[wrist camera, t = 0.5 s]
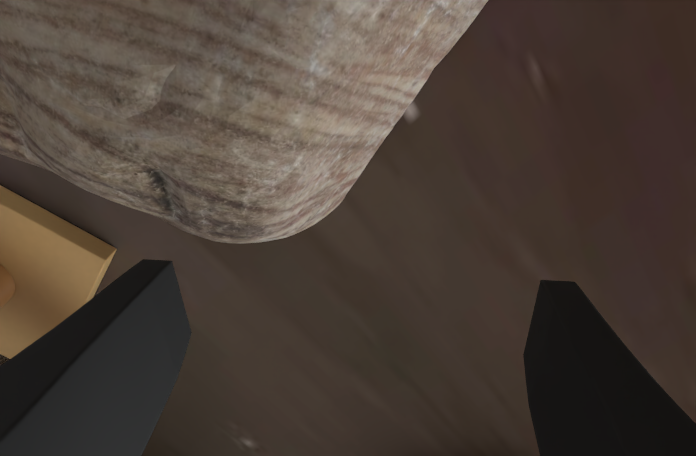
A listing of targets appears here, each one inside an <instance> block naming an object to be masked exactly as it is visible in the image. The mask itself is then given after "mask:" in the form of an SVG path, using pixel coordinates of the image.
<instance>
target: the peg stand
mask: <svg viewBox="0 0 696 456" xmlns="http://www.w3.org/2000/svg"><path fill="white" fill-rule="evenodd" d="M115 252H116V248H114V247H113V246H111V245H109V244H107V243H105V242H103V241H102V240H100V239H98V238H96V237H94V236H92V235H91V234H89V233H87V232H85V231H83V230H81V229H80V228H78V227H76V226H74V225H72V224H71V223H69V222H67V221H65V220H63V219H61V218H60V217H58V216H56V215H54V214H52V213H50V212H49V211H47V210H45V209H43V208H41V207H39V206H38V205H36V204H34V203H32V202H30V201H28V200H27V199H25V198H23V197H21V196H19V195H17V194H16V193H14V192H12V191H10V190H8V189H6V188H5V187H3V186H1V185H0V354H1V355H3V356H5V357H7V358H9V359H11V358H12V357H14V356H15V355H17V354H18V353H19V352H21V351H22V350H24V349H25V348H26V347H28V346H29V345H31V344H32V343H33V342H35V341H36V340H38V339H39V338H40V337H42V336H43V335H45V334H46V333H48V332H49V331H50V330H52V329H53V328H54V327H56V326H57V325H58V324H60V323H61V322H62V321H64V320H65V319H66V318H68V317H69V316H70V315H71V314H73V313H74V312H75V311H77V310H78V309H79V308H81V307H82V306H83V305H84V304H86V303H87V302H88V301H90V300H91V299H92V298H93V297H94V295H95V293H96V291H97V288H98V286H99V284H100V282H101V280H102V278H103V276H104V274H105V272H106V270H107V268H108V266H109V264H110V262H111V260H112V258H113V256H114V254H115Z"/></svg>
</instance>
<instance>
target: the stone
mask: <svg viewBox="0 0 696 456" xmlns="http://www.w3.org/2000/svg"><path fill="white" fill-rule="evenodd" d="M487 1H488V0H0V154H2V155H5V156H7V157H11V158H14V159H17V160H20V161H23V162H27V163H30V164H33V165H35V166H38V167H41V168H43V169H46V170H49V171H52V172H54V173H56V174H57V175H59V176H61V177H63V178H64V179H66V180H68V181H69V182H71V183H73V184H75V185H77V186H79V187H81V188H83V189H85V190H87V191H89V192H91V193H94V194H96V195H99V196H101V197H103V198H106V199H108V200H111V201H113V202H116V203H119V204H122V205H124V206H127V207H130V208H133V209H136V210H139V211H142V212H145V213H148V214H151V215H154V216H156V217H158V218H160V219H162V220H164V221H165V222H167V223H169V224H171V225H173V226H175V227H177V228H179V229H181V230H183V231H185V232H188V233H190V234H193V235H196V236H200V237H203V238H206V239H209V240H212V241H217V242H223V243H240V244H243V243H258V242H266V241H271V240H276V239H282V238H285V237H288V236H291V235H294V234H296V233H298V232H301V231H303V230H305V229H307V228H309V227H310V226H312V225H314V224H315V223H317V222H318V221H320V220H321V219H323V218H324V217H326V216H327V215H328V214H329V213H330V212H332V211H333V210H334V209H335V208H336V207H337V206H338V205H339V204H340V203H341V202H342V200H343V199H344V198H345V196H346V194H347V193H348V191H349V190H350V189H351V187H352V186H353V184H354V183H355V182H356V180H357V179H358V177H359V176H360V175H361V173H362V172H363V170H364V169H365V167H366V166H367V164H368V163H369V161H370V160H371V158H372V157H373V155H374V154H375V152H376V151H377V149H378V148H379V147H380V145H381V144H382V142H383V141H384V139H385V138H386V136H387V135H388V134H389V133H390V132H391V130H392V129H393V128H394V125H395V124H396V123H397V121H398V120H399V119H400V118H401V117H402V115H403V114H404V112H405V111H406V109H407V108H408V106H409V105H410V104H411V102H412V101H413V100H414V98H415V97H416V95H417V94H418V92H419V91H420V89H421V88H422V86H423V85H424V84H425V82H426V81H427V79H428V77H429V76H430V74H431V72H432V71H433V69H434V68H435V66H436V65H437V64H438V63H439V62H440V61H441V60H442V59H443V58H444V57H445V56H446V55H447V53H448V52H449V51H450V50H451V49H452V47H453V46H454V45H455V43H456V42H457V41H458V40H459V38H460V37H461V36H462V35H463V34H464V32H465V31H466V30H467V28H468V27H469V26H470V25H471V23H472V22H473V21H474V19H475V18H476V16H477V15H478V14H479V12H480V11H481V9H482V8H483V7H484V5H485V4H486V3H487Z"/></svg>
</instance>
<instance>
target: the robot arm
mask: <svg viewBox="0 0 696 456" xmlns="http://www.w3.org/2000/svg"><path fill="white" fill-rule="evenodd" d="M190 336H191V329H190V326H189V322H188V318H187V315H186V311H185V307H184V304H183V300H182V296H181V293H180V289H179V285H178V282H177V278H176V274H175V271H174V267H173V263H172V261H163V260H144V259H143V260H142V261H140V262H139V263H137V264H136V265H135V266H133V267H132V268H131V269H129V270H128V271H127V272H125V273H124V274H123V275H121V276H120V277H119V278H118V279H116V280H115V281H114V282H112V283H111V284H110V285H109V286H107V287H106V288H105V289H104V290H102V291H101V292H100V293H99V294H97V295H96V296H95V297H93V298H92V299H91V300H90V301H88V302H87V303H86V304H84V305H83V306H82V307H81V308H79V309H78V310H77V311H75V312H74V313H73V314H71V315H70V316H69V317H68V318H66V319H65V320H64V321H62V322H61V323H60V324H58V325H57V326H56V327H54V328H53V329H52V330H50V331H49V332H48V333H46V334H45V335H43V336H42V337H40V338H39V339H38V340H36V341H35V342H33V343H32V344H31V345H29V346H28V347H26V348H25V349H24V350H22V351H21V352H19V353H18V354H17V355H15V356H14V357H12V358H11V359H10V360H8V361H7V362H5V363H4V364H2V365H1V366H0V456H142V453H143V451H144V449H145V447H146V445H147V443H148V441H149V439H150V436H151V434H152V432H153V430H154V428H155V426H156V424H157V421H158V419H159V417H160V415H161V413H162V411H163V409H164V406H165V404H166V402H167V400H168V398H169V396H170V393H171V391H172V389H173V387H174V384H175V382H176V380H177V378H178V375H179V372H180V369H181V366H182V362H183V359H184V356H185V353H186V350H187V346H188V343H189V339H190ZM524 364H525V375H526V385H527V393H528V402H529V408H530V412H531V417H532V421H533V426H534V430H535V435H536V439H537V444H538V448H539V452H540V456H696V424H695V423H694V422H693V421H692V419H691V418H690V417H689V416H688V415H687V414H686V413H685V412H684V411H683V410H682V409H681V408H680V407H679V406H678V405H677V404H676V403H675V402H674V400H673V399H672V398H671V397H670V396H669V395H668V394H667V393H666V392H665V391H664V390H663V388H662V387H661V386H660V385H659V384H658V383H657V382H656V381H655V380H654V378H653V377H652V376H651V375H650V374H649V373H648V371H647V370H646V369H645V368H644V367H643V366H642V364H641V363H640V362H639V361H638V360H637V359H636V357H635V356H634V355H633V354H632V353H631V352H630V350H629V349H628V348H627V347H626V346H625V344H624V343H623V342H622V341H621V340H620V338H619V337H618V336H617V335H616V333H615V332H614V331H613V330H612V328H611V327H610V326H609V325H608V323H607V322H606V321H605V320H604V318H603V317H602V316H601V314H600V313H599V312H598V311H597V309H596V308H595V307H594V305H593V304H592V303H591V302H590V300H589V299H588V298H587V296H586V295H585V294H584V292H583V291H582V290H581V289H580V287H579V286H578V285H577V284H576V283H575V282H568V281H549V280H541V281H540V285H539V290H538V294H537V299H536V303H535V307H534V312H533V316H532V320H531V325H530V329H529V333H528V338H527V342H526V346H525V351H524Z"/></svg>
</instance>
